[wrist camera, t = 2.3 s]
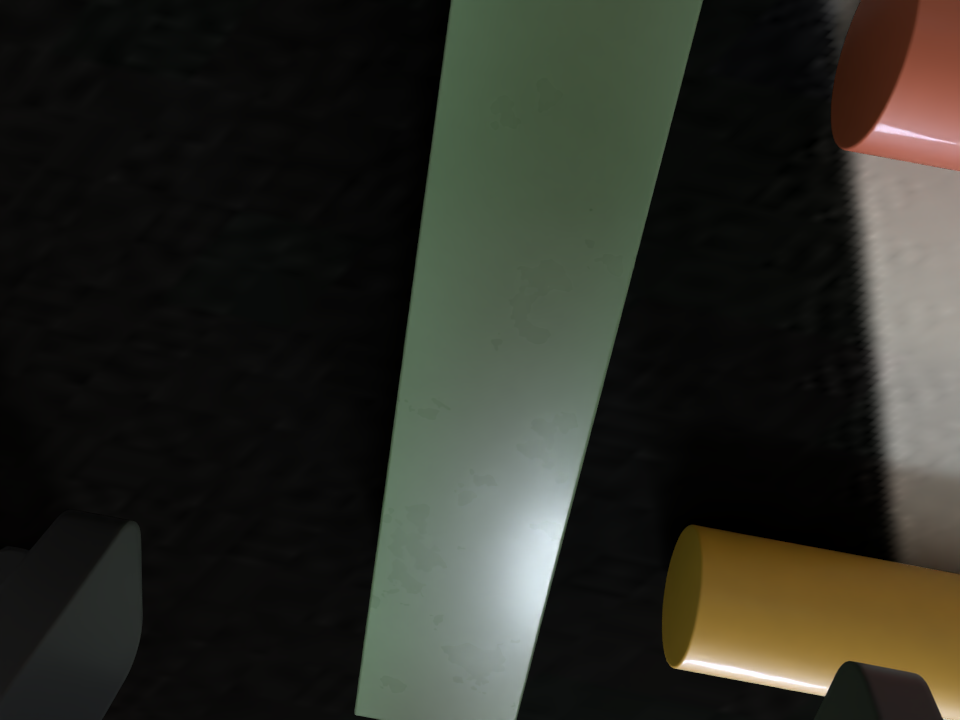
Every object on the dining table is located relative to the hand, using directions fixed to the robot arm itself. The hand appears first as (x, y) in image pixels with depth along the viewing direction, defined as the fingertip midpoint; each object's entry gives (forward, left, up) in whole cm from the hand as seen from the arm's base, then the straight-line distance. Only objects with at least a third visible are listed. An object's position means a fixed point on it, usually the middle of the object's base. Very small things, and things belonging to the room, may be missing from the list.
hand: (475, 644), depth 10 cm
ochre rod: (+12, -6, -10) cm, 17 cm away
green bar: (0, 0, -10) cm, 10 cm away
